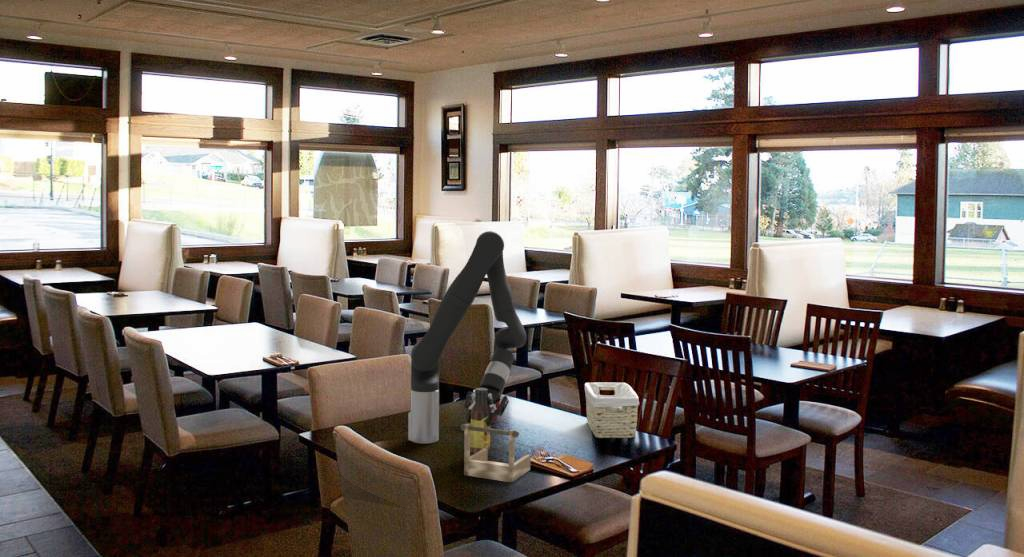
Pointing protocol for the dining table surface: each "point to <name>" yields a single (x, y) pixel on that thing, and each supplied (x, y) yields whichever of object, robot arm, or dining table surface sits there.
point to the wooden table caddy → (490, 469)
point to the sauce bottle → (479, 421)
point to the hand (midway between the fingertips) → (478, 423)
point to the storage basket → (611, 410)
